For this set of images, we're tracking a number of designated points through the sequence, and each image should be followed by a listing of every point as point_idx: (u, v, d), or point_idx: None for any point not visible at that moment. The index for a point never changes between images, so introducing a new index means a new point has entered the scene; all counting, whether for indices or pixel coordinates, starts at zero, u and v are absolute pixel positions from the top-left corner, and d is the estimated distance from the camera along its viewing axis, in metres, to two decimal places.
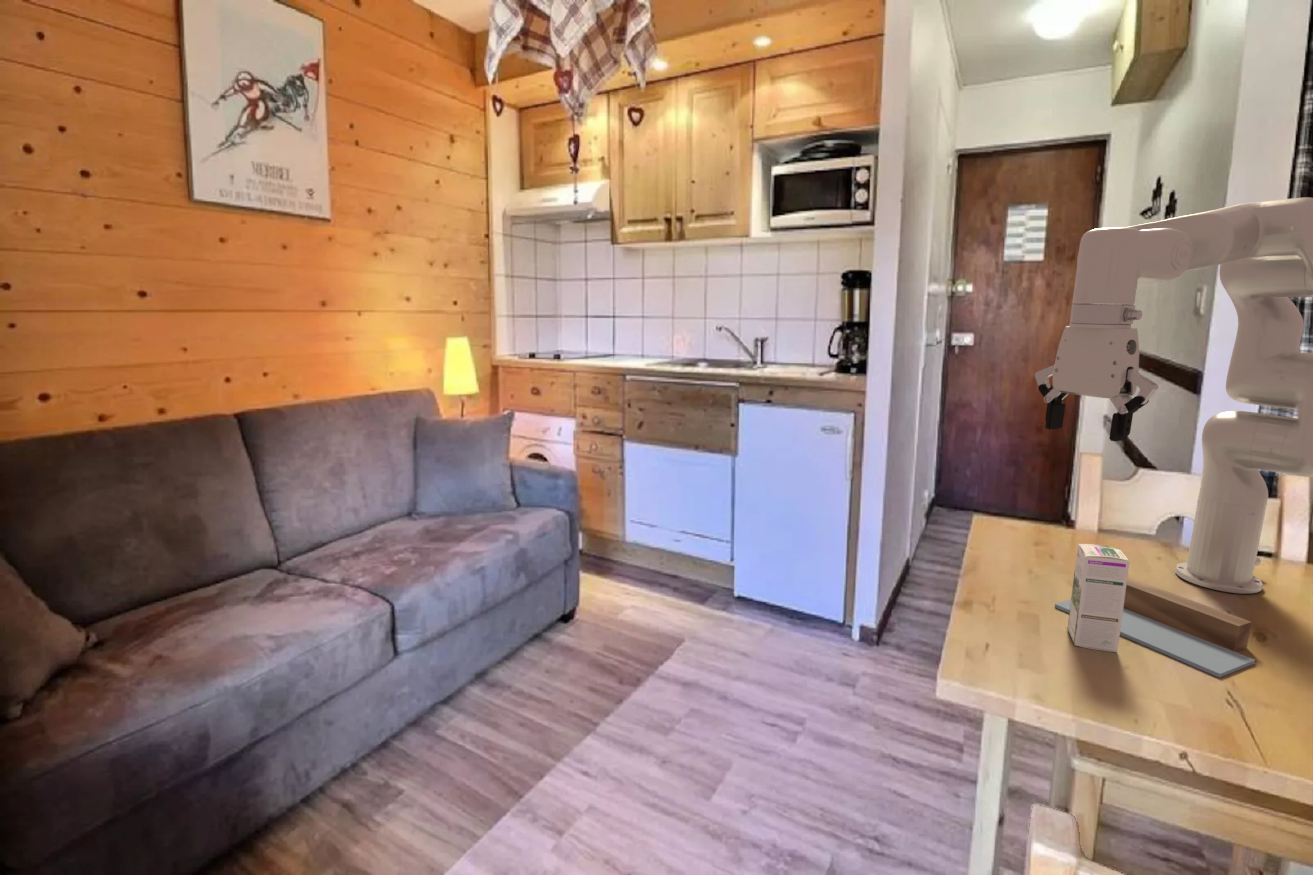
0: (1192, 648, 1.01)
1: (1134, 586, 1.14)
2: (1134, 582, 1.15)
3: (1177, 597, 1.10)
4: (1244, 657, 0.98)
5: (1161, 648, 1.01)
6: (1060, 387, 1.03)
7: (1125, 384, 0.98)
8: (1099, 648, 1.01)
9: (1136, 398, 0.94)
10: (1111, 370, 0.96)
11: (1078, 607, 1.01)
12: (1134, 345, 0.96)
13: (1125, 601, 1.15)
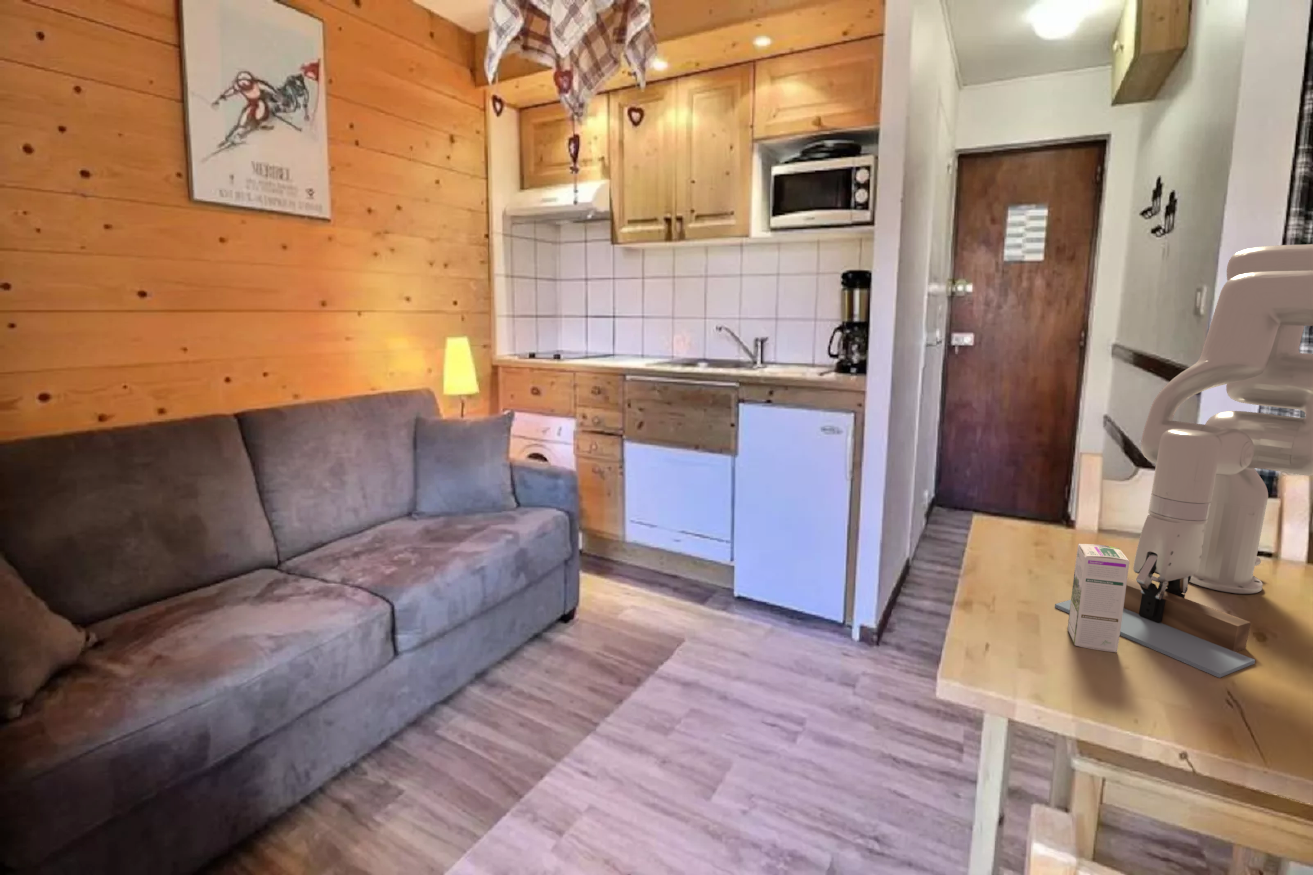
0: (1192, 648, 1.01)
1: (1133, 586, 1.14)
2: (1133, 582, 1.15)
3: (1176, 597, 1.10)
4: (1244, 657, 0.98)
5: (1161, 648, 1.01)
6: (1169, 578, 1.06)
7: None
8: (1099, 648, 1.01)
9: (1189, 577, 1.11)
10: (1200, 553, 1.09)
11: (1078, 607, 1.01)
12: None
13: (1124, 601, 1.15)
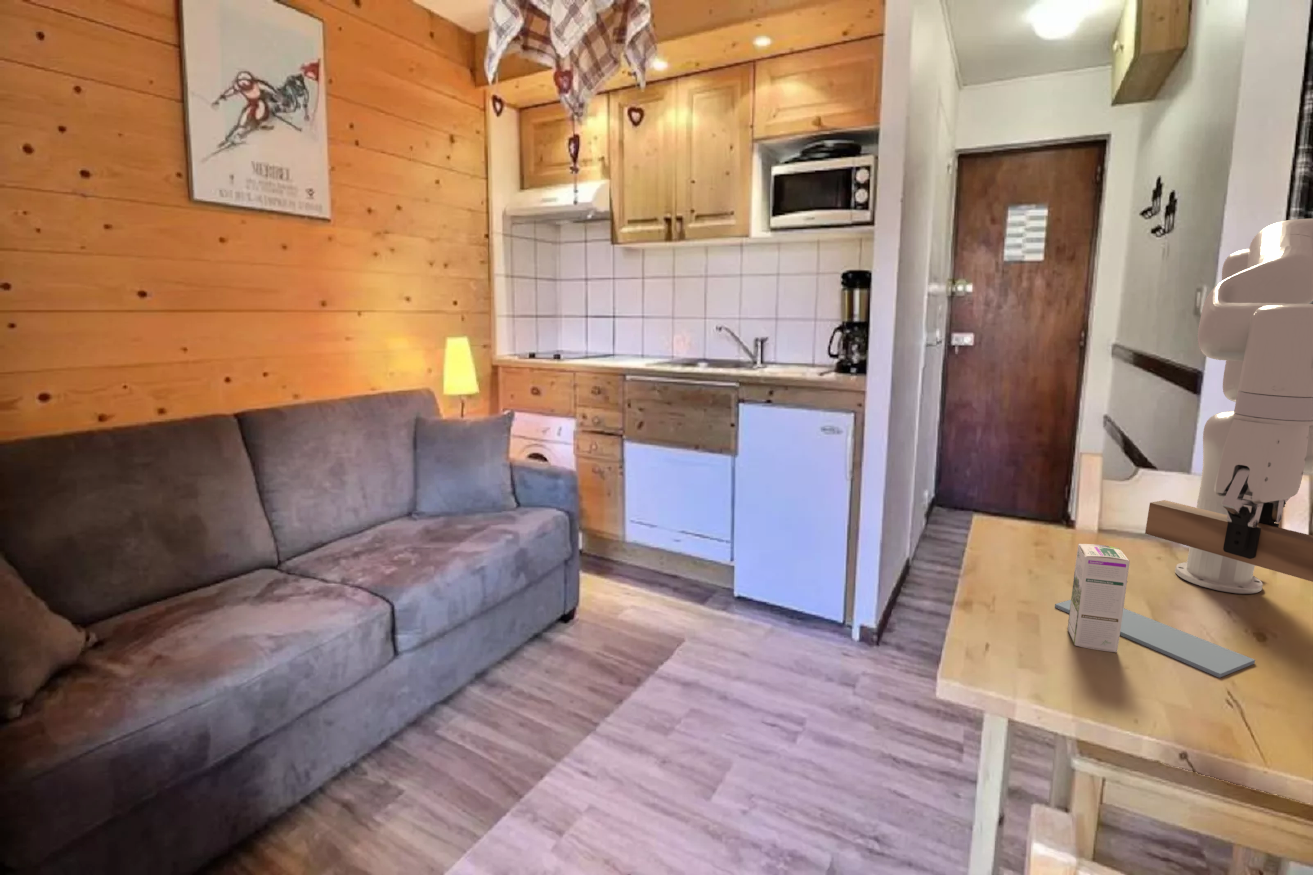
0: (1192, 648, 1.01)
1: (1208, 516, 0.89)
2: (1206, 512, 0.91)
3: (1267, 526, 0.85)
4: (1244, 657, 0.98)
5: (1161, 648, 1.01)
6: (1265, 499, 0.82)
7: None
8: (1099, 648, 1.01)
9: (1283, 502, 0.86)
10: (1302, 467, 0.84)
11: (1078, 607, 1.01)
12: None
13: (1196, 536, 0.90)
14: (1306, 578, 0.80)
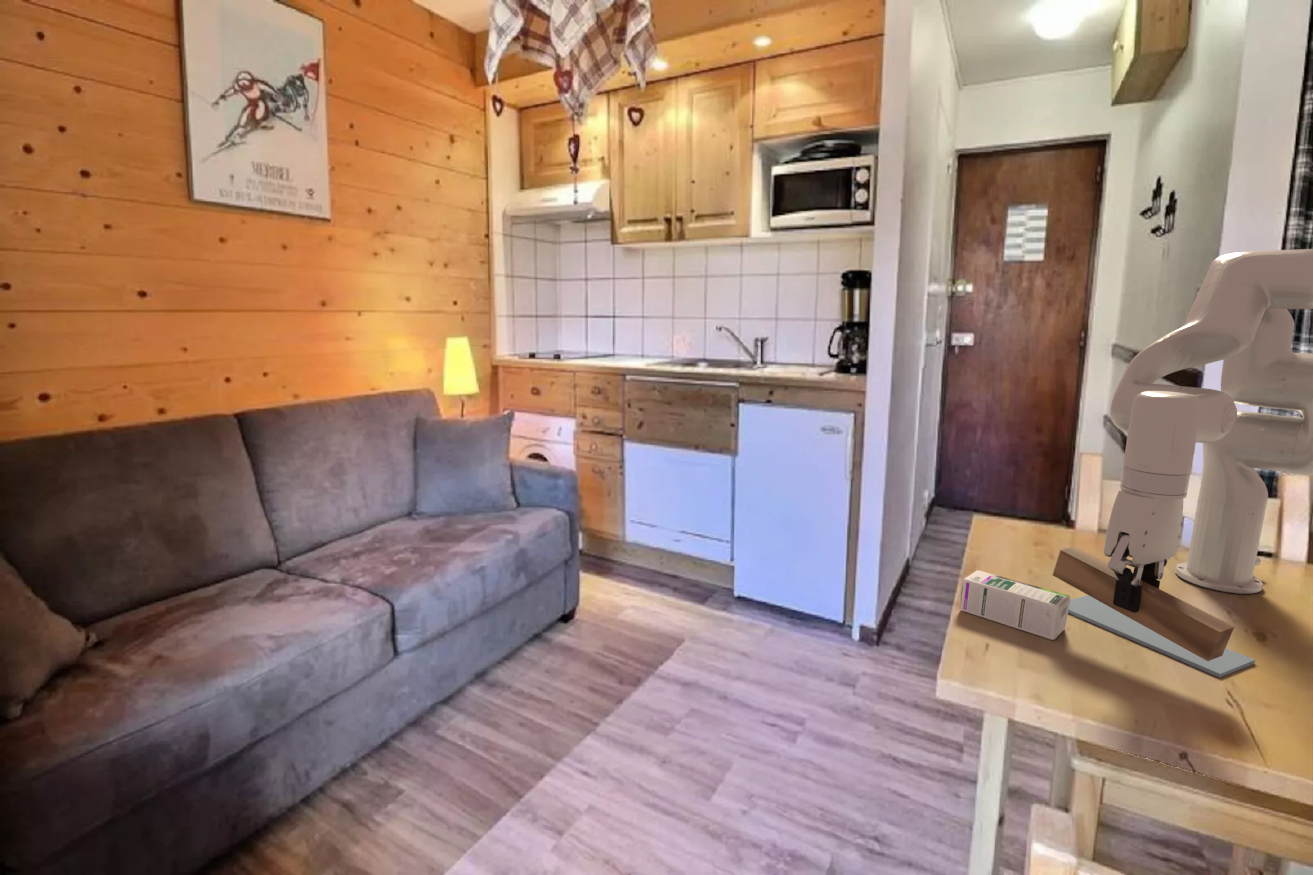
0: None
1: (1106, 572, 1.00)
2: (1106, 566, 1.01)
3: (1153, 588, 0.96)
4: (1244, 657, 0.98)
5: (1161, 648, 1.01)
6: (1144, 562, 0.93)
7: None
8: (1055, 620, 1.03)
9: (1164, 561, 0.98)
10: (1178, 532, 0.95)
11: None
12: None
13: (1093, 587, 1.01)
14: (1173, 641, 0.92)
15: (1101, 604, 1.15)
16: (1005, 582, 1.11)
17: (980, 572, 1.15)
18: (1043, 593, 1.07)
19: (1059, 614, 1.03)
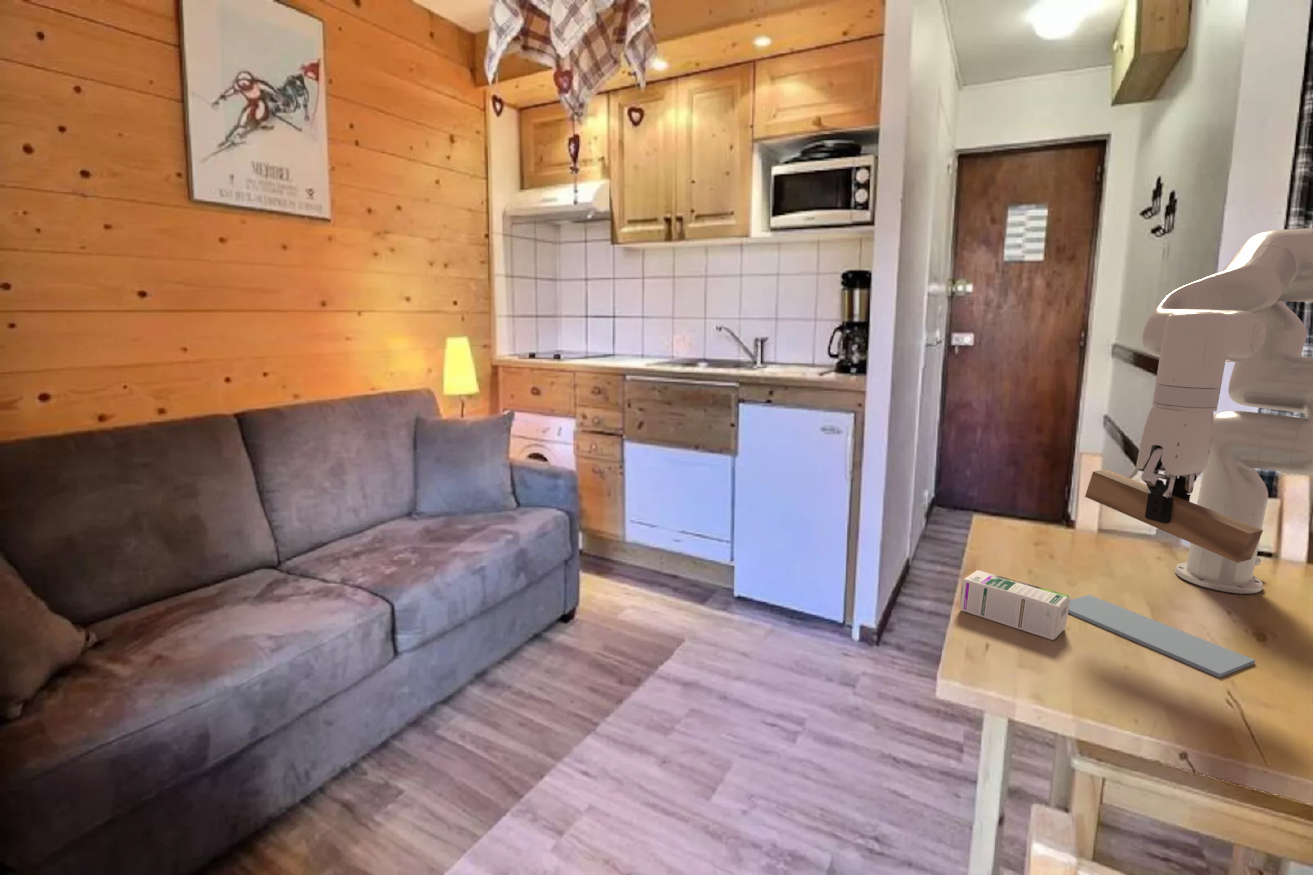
0: (1192, 648, 1.01)
1: (1138, 488, 1.05)
2: (1137, 484, 1.06)
3: (1183, 501, 1.01)
4: (1244, 657, 0.98)
5: (1161, 648, 1.01)
6: (1176, 473, 0.98)
7: None
8: (1055, 620, 1.03)
9: (1194, 476, 1.03)
10: (1208, 447, 1.00)
11: (1012, 626, 1.08)
12: None
13: (1125, 503, 1.06)
14: (1204, 547, 0.97)
15: (1101, 604, 1.15)
16: (1005, 582, 1.11)
17: (980, 572, 1.15)
18: (1043, 593, 1.07)
19: (1059, 614, 1.03)
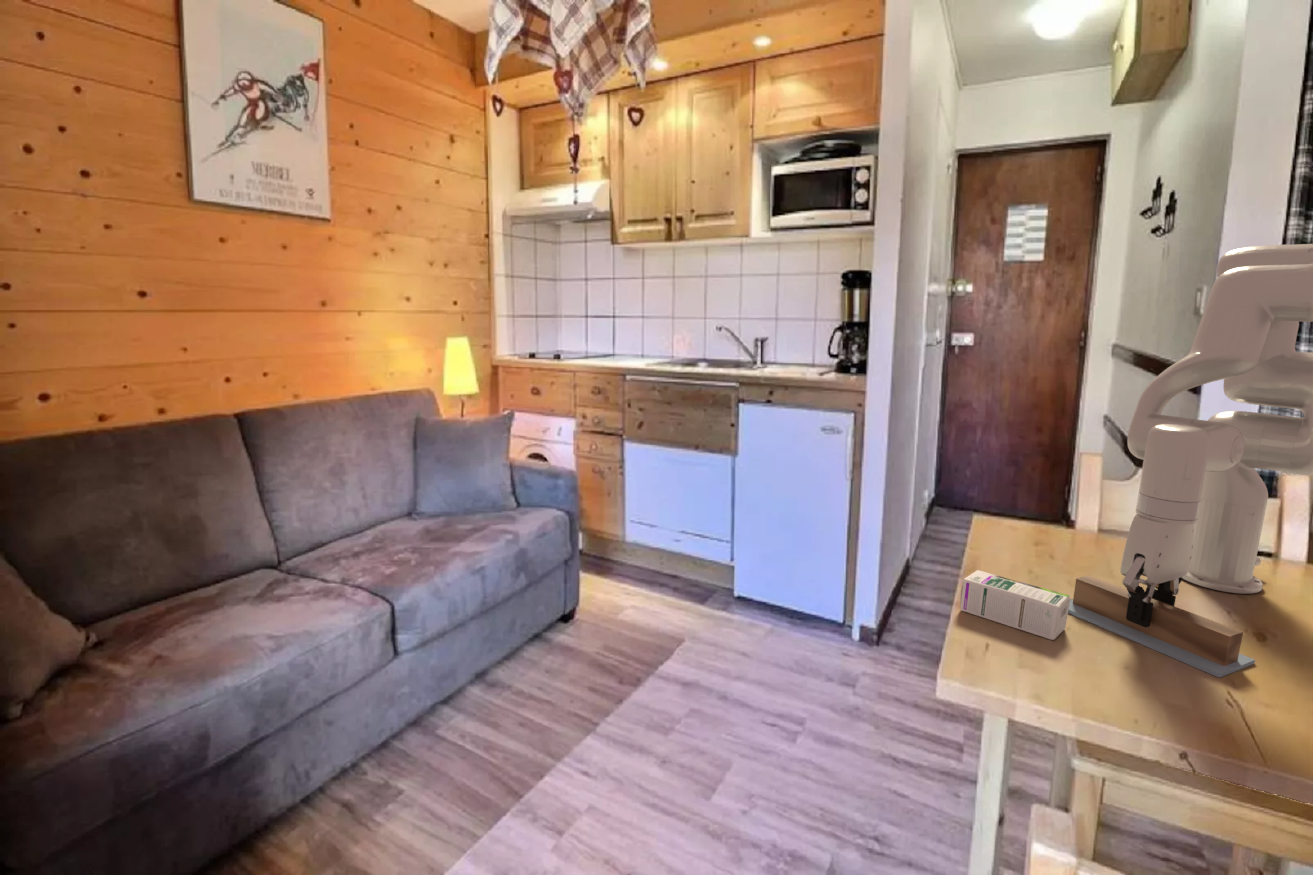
0: None
1: (1120, 594, 1.08)
2: (1120, 589, 1.10)
3: (1165, 605, 1.05)
4: (1244, 657, 0.98)
5: (1161, 648, 1.01)
6: (1158, 581, 1.01)
7: None
8: (1055, 620, 1.03)
9: (1180, 578, 1.06)
10: (1190, 553, 1.04)
11: (1012, 626, 1.08)
12: None
13: (1111, 609, 1.10)
14: (1190, 651, 1.00)
15: None
16: (1005, 582, 1.11)
17: (980, 572, 1.15)
18: (1043, 593, 1.07)
19: (1059, 614, 1.03)
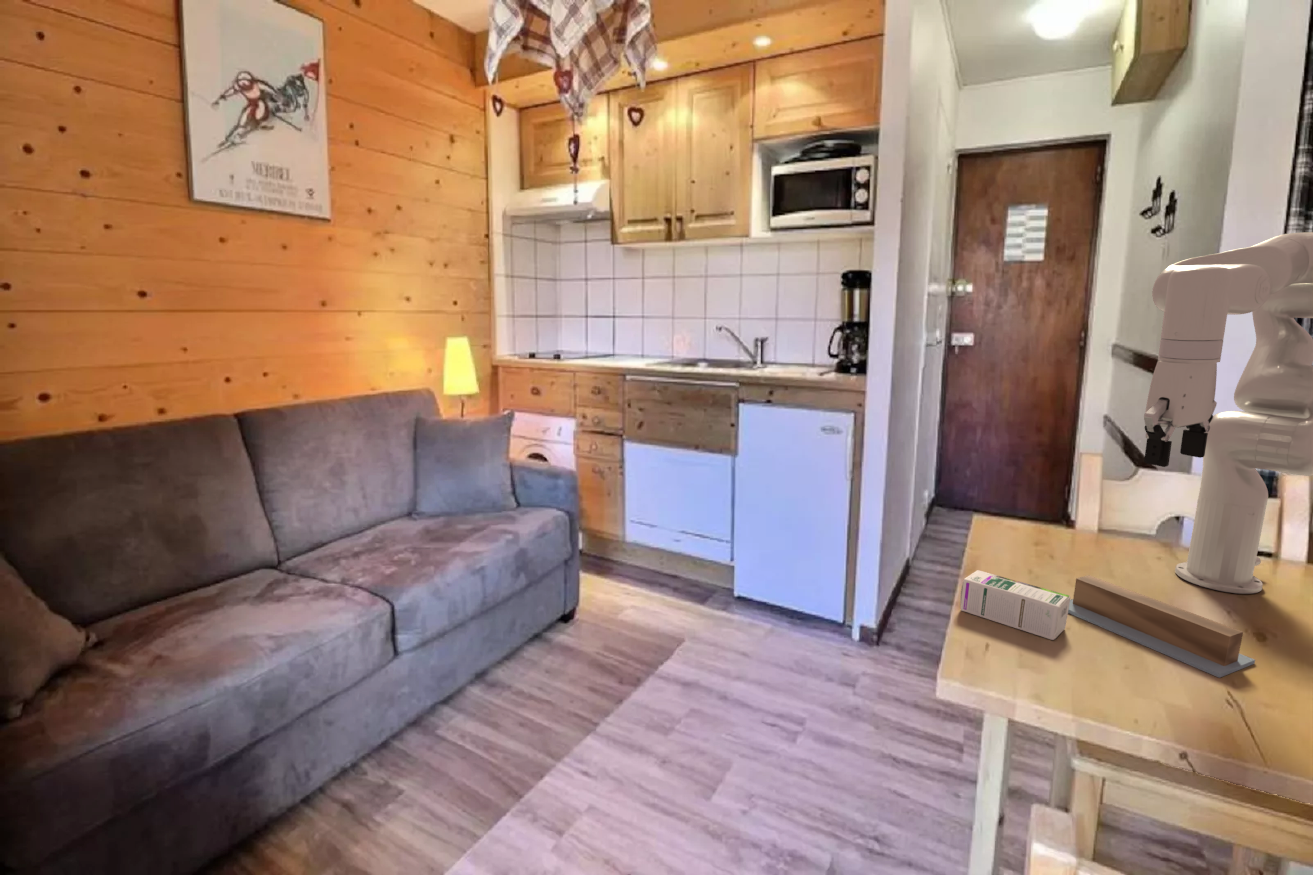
0: None
1: (1120, 594, 1.08)
2: (1120, 589, 1.10)
3: (1165, 605, 1.05)
4: (1244, 657, 0.98)
5: (1161, 648, 1.01)
6: (1182, 423, 1.03)
7: None
8: (1055, 620, 1.03)
9: (1211, 416, 1.08)
10: (1213, 397, 1.05)
11: (1012, 626, 1.08)
12: None
13: (1111, 609, 1.10)
14: (1190, 651, 1.00)
15: None
16: (1005, 582, 1.11)
17: (980, 572, 1.15)
18: (1043, 593, 1.07)
19: (1059, 614, 1.03)
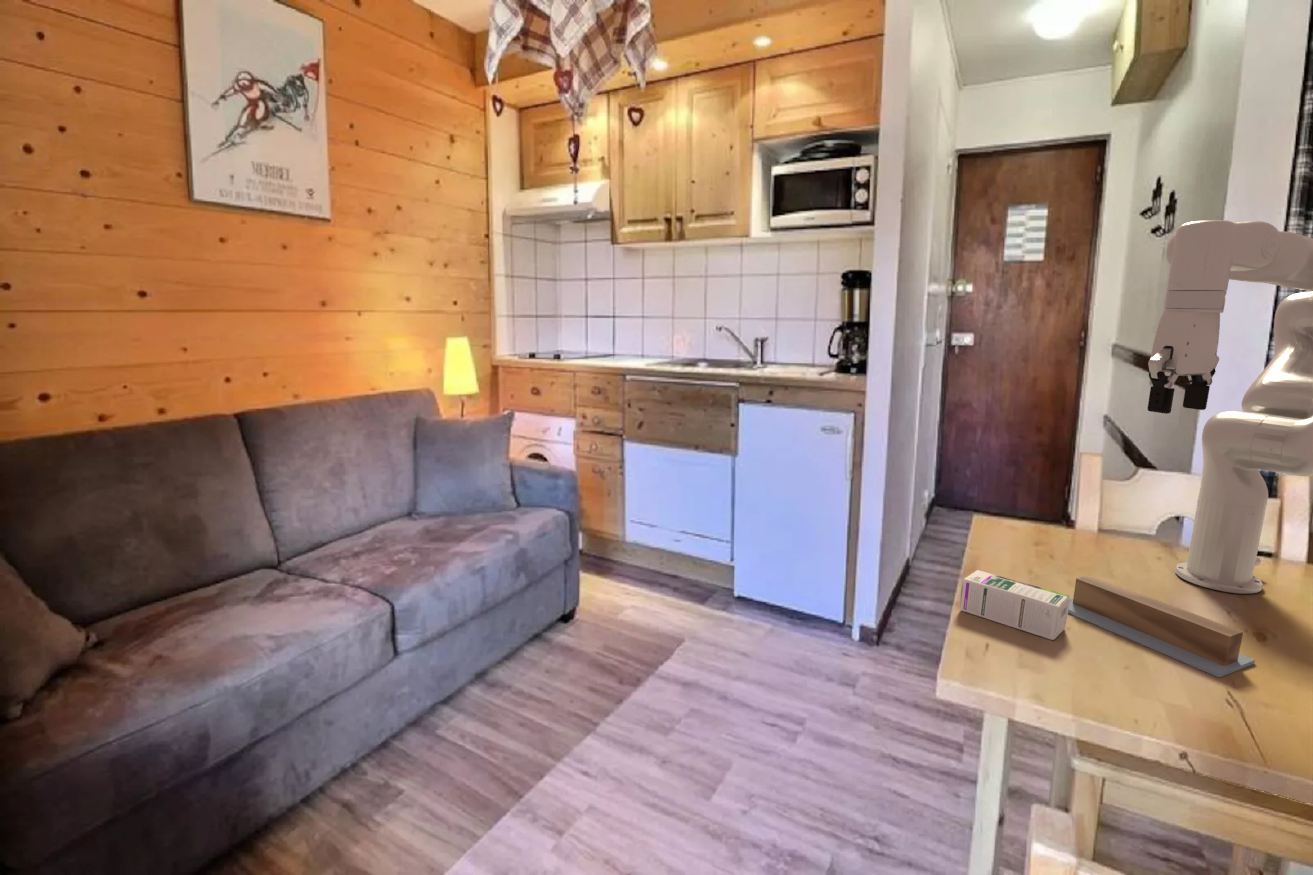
0: None
1: (1120, 594, 1.08)
2: (1120, 589, 1.10)
3: (1165, 605, 1.05)
4: (1244, 657, 0.98)
5: (1161, 648, 1.01)
6: (1185, 371, 1.07)
7: None
8: (1055, 620, 1.03)
9: (1213, 370, 1.12)
10: (1215, 349, 1.09)
11: (1012, 626, 1.08)
12: None
13: (1111, 609, 1.10)
14: (1190, 651, 1.00)
15: None
16: (1005, 582, 1.11)
17: (980, 572, 1.15)
18: (1043, 593, 1.07)
19: (1059, 614, 1.03)
